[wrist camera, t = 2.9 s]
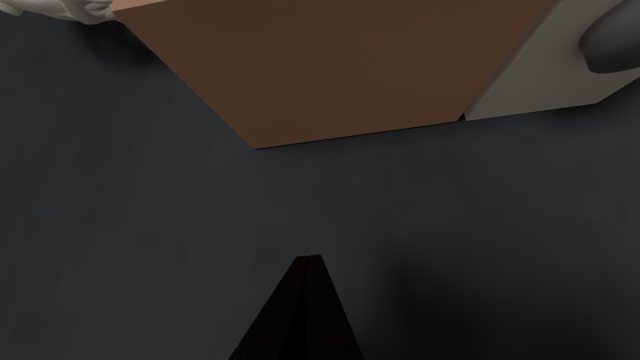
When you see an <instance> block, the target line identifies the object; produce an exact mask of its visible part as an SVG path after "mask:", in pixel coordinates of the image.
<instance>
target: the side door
mask: <svg viewBox="0 0 640 360" xmlns="http://www.w3.org/2000/svg"><path fill="white" fill-rule="evenodd" d="M547 1H548V0H112V8H111V12H112V13H113V14H114V15H115V16H116V17H117V18H118V19H119V20H120V21H121V22H122V23H124V24H125V25H126V26H127V27H128V28H129V29H130V30H131V31H132V32H133V33H134V34H135V35H136V36H137V37H138V38H139V39H140V40H141V41H142V42H143V43H144V44H145V45H146V46H147V47H148V48H149V49H150V50H152V51H153V52H154V53H155V54H156V55H157V56H158V57H159V58H160V59H161V60H162V61H163V62H164V63H165V64H166V65H167V66H168V67H169V68H170V69H171V70H172V71H173V72H174V73H175V74H176V75H177V76H178V77H179V78H181V79H182V80H183V81H184V82H185V83H186V84H187V85H188V86H189V87H190V88H191V89H192V90H193V91H194V92H195V93H196V94H197V95H198V96H199V97H200V98H201V99H202V100H203V101H204V102H205V103H206V104H207V105H209V106H210V107H211V108H212V109H213V110H214V111H215V112H216V113H217V114H218V115H219V116H220V117H221V118H222V119H223V120H224V121H225V122H226V123H227V124H228V125H229V126H230V127H231V128H232V129H233V130H234V131H235V132H237V133H238V134H239V135H240V136H241V137H242V138H243V139H244V140H245V141H246V142H247V143H248V144H249V145H250V146H251V147H252V148H253V149H258V148H265V147H272V146H280V145H287V144H294V143H302V142H309V141H316V140H323V139H331V138H338V137H345V136H353V135H360V134H367V133H374V132H382V131H389V130H396V129H403V128H411V127H418V126H425V125H433V124H440V123H447V122H454V121H457V120H458V119H459V117H460V116H461V115H462V113H463V112H464V111H465V109H466V108H467V107H468V105H469V104H470V103H471V102H472V100H473V99H474V98H475V96H476V95H477V94H478V92H479V91H480V90H481V88H482V87H483V86H484V84H485V83H486V82H487V80H488V79H489V78H490V76H491V75H492V74H493V72H494V71H495V70H496V68H497V67H498V66H499V64H500V63H501V62H502V60H503V59H504V58H505V57H506V55H507V54H508V53H509V51H510V50H511V49H512V47H513V46H514V45H515V43H516V42H517V41H518V39H519V38H520V37H521V35H522V34H523V33H524V31H525V30H526V29H527V27H528V26H529V25H530V23H531V22H532V21H533V19H534V18H535V17H536V15H537V14H538V13H539V11H540V10H541V9H542V8H543V6H544V5H545V4H546V2H547Z"/></svg>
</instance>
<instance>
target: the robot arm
mask: <svg viewBox="0 0 640 360" xmlns="http://www.w3.org/2000/svg"><path fill="white" fill-rule="evenodd" d="M228 360H364V357H363V355H362V353H361V351H360V348H359V346H358V343H357V341H356V339H355V336H354V334H353V331H352V329H351V326H350V324H349V322H348V319H347V317H346V314H345V312H344V309H343V307H342V305H341V302H340V300H339V297H338V295H337V292H336V290H335V287H334V285H333V283H332V280H331V278H330V275H329V273H328V270H327V268H326V266H325V263H324V261H323V258H322V256H321V255H320V254H317V255H310V256H298V257H296V258H295V260H294V261H293V263H292V264H291V266H290V267H289V269H288V270H287V272H286V273H285V275H284V276H283V278H282V279H281V281H280V282H279V284H278V285H277V287H276V288H275V290H274V291H273V293H272V294H271V296H270V298H269V299H268V301H267V302H266V304H265V305H264V307H263V308H262V310H261V311H260V313H259V314H258V316H257V317H256V319H255V320H254V322H253V323H252V325H251V326H250V328H249V329H248V331H247V332H246V334H245V335H244V337H243V338H242V340H241V341H240V343H239V344H238V347H237V348H236V349H235V350H234V352H233V353H232V355H231V356H230V358H229V359H228Z"/></svg>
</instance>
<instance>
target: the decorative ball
mask: <svg viewBox="0 0 640 360" xmlns="http://www.w3.org/2000/svg"><path fill="white" fill-rule="evenodd" d="M111 8H112V0H0V10H2V11H5V12H7V13H9V14H11V15H15V16H20V15H21V14H22V10H27V11H32V12H37V13H42V14H45V15H47V16H51V17H55V18H58V19H62V20H73V21H80V22H82V23H84V24H98V23H101V22H103V21H108V20H117V21H119V22H121V21H120V20H119V19H118V18H117V17H116V16H115V15H114V14H113V13H112V12H111ZM104 9H105V10H104ZM121 23H122V22H121Z"/></svg>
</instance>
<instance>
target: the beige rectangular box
mask: <svg viewBox="0 0 640 360" xmlns="http://www.w3.org/2000/svg"><path fill="white" fill-rule="evenodd" d="M638 77H640V0H548V1H547V2H546V4H545V5H544V6H543V8H542V9H541V10H540V11H539V13H538V14H537V15H536V17H535V18H534V19H533V21H532V22H531V23H530V25H529V26H528V27H527V29H526V30H525V31H524V33H523V34H522V35H521V37H520V38H519V39H518V41H517V42H516V43H515V45H514V46H513V47H512V49H511V50H510V51H509V53H508V54H507V55H506V57H505V58H504V59H503V60H502V62H501V63H500V64H499V66H498V67H497V68H496V70H495V71H494V72H493V74H492V75H491V76H490V78H489V79H488V80H487V82H486V83H485V84H484V86H483V87H482V88H481V90H480V91H479V92H478V94H477V95H476V96H475V98H474V99H473V100H472V102H471V103H470V104H469V105H468V107H467V108H466V109H465V111H464V115H465V120H466V121H470V120H477V119H484V118H492V117H499V116H506V115H514V114H521V113H528V112H535V111H543V110H550V109H557V108H565V107H572V106H579V105H587V104H594V103H598V102H599V101H601V100H603V99H604V98H606V97H608V96H609V95H611V94H612V93H614V92H616V91H617V90H619V89H620V88H622V87H624V86H625V85H627V84H629V83H630V82H632V81H633V80H635V79H637V78H638Z"/></svg>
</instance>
